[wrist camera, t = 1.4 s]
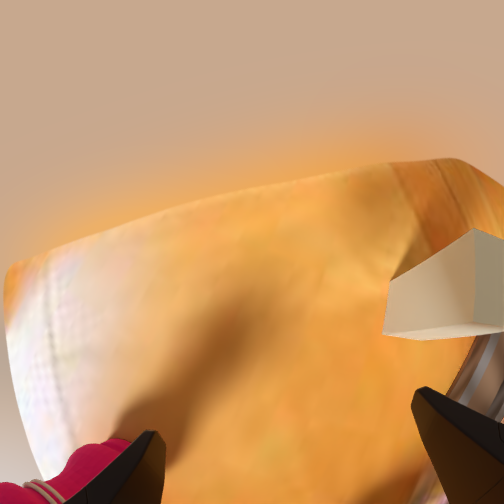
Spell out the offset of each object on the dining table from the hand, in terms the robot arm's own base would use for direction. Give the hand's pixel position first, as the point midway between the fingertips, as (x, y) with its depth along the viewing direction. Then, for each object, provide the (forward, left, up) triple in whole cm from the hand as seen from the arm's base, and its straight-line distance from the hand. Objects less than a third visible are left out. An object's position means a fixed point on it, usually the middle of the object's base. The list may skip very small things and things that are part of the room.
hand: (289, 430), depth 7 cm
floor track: (-7, -24, -15) cm, 29 cm away
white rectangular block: (+2, -13, -15) cm, 20 cm away
